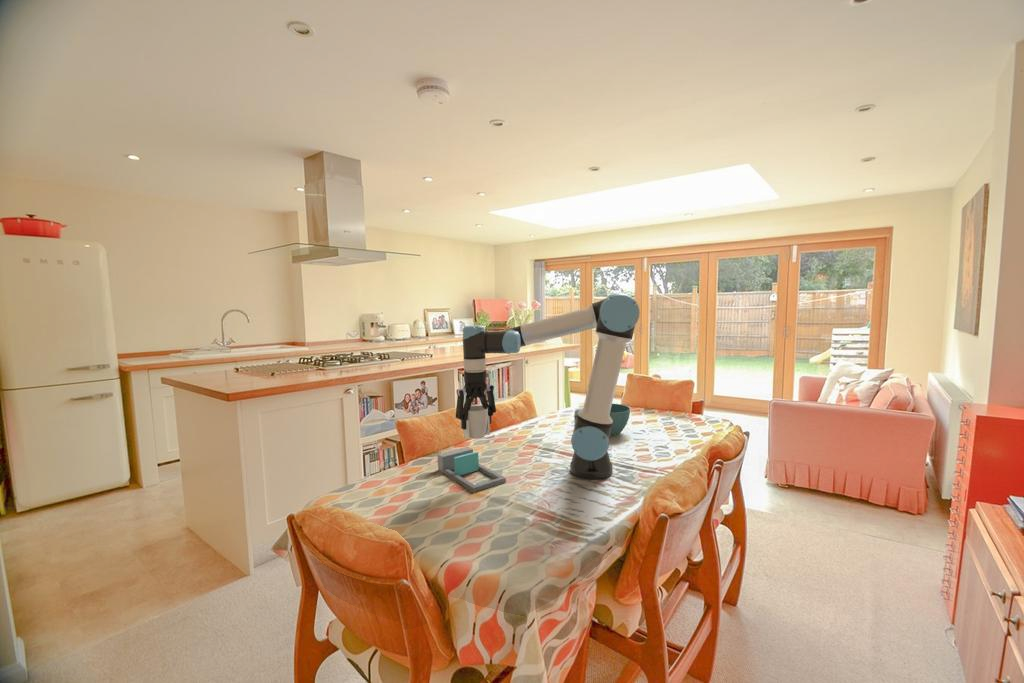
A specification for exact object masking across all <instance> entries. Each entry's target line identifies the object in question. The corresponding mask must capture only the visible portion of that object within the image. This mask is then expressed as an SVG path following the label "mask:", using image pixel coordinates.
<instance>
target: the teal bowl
mask: <svg viewBox="0 0 1024 683" xmlns="http://www.w3.org/2000/svg"><path fill="white" fill-rule="evenodd" d="M630 413H631V408H630V406H628V405H624V404H620V403H612V406H611V410H610V417H611V419H612V420H613V423H612V427H611V432H610V436H609V437H614V436H615V437H616V436H619V435H620V434H621V432H623V430H624V429H625V427H626V426H627V424H628V422H629V418H630Z"/></svg>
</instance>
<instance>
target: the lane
mask: <svg viewBox="0 0 1024 683" xmlns="http://www.w3.org/2000/svg"><path fill="white" fill-rule="evenodd" d="M473 452H474V449H473V448H471V447H469V446H465V447H461V448H458V449H457V448H456V449H451V450H449V451H445V452H441V453H437V470H438V471H440V472H441V473H442V474H444V475H446V476H447V477H449V478H450V479H452V480H453V481H455V482H456V483H458V484H460V485H461V486H463V487H464V488H466V489H467V490H469V491H471V492H472V493H476V491H477V492H480V491H482V489H483V490H485V489H488V488H492V487H495V486H499V485H501V484H505V483H506V482H507V478H506V477H505V476H503V475H502V474H499V473H497V472H496V471H493V469H490V468H488V467H486V466H484V465H482V464H481V463H479V470H478V471H480V472H481V473H483V474H484V475H487V476H489V477H490V478H492V480H488V481H484V482H481V483H479V484H474V483H472V482H471V481H469V480H467V479H466V478H463V477H462V475H460V476H459V475H457V474H456V473H455V467H454V457H457V456H461V455H465V454H469V453H473ZM479 490H480V491H479Z"/></svg>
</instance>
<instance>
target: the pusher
mask: <svg viewBox="0 0 1024 683" xmlns="http://www.w3.org/2000/svg"><path fill="white" fill-rule="evenodd" d="M479 462H480V461H479V452H478V451H473V453H469V454H465V455H461V456H457V457H454V467H455V470H454V473H456V474H457V475H459V476H463V475H466V474H470V473H473V472H477V471H479V464H480V463H479Z"/></svg>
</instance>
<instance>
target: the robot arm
mask: <svg viewBox="0 0 1024 683" xmlns="http://www.w3.org/2000/svg"><path fill="white" fill-rule="evenodd" d="M640 314H641V312H640V306H639V304H638V302H637V301H636V299H635V298H634V297H633V296H631V295H629V294H627V293H623V292H622V293H621V292H616V293H612V294H610V295H608V296H607V297H605V298H604V299H602V300H599V301H596V302H593V303H590V305H589V306H588V307H584V308H581V309H578V310H573V311H570V312H566V313H563V314H558V315H554V316H552V317H548V318H544V319H541V320H537V321H532V322H529V323H525V324H522V325H518V326H514V327H509V328H506V329H503V330H500V331H499V330H496V331H488V330H486V329H485V325H466V326H464V327H463V328H462V350H463V370H464V372H463V381H464V386H463V388H461V389H456V395H457V397H456V398H457V400H456V410H455V419H458V420H460V424H461V428H460V429H462V430H463V439H466V440H470V439H471V438H470V436H469V420H467V417H468V411H469V410H470V407H471V406H472V403H473V402H474V399H477V398H478V399H479V401H480V403H481V406H483V408H484V409H487V407H488V420H487V428H486V432H485V435H490V434H491V424H492V416H494V413H495V414H496V412H497V407H496V401H495V394H494V388H495V387H494V385H493V384H487V372H486V369H487V364H486V354H505V355H506V354H508V355H511V354H518V353H519V352H520V349H521V348H522V347H525V346H529V345H533V344H536V343H541V342H544V341H549V340H550V341H551V340H553V339H557V338H561V337H564V336H568V335H572V334H577V333H581V332H584V331H588V330H592V329H595V333H596V335H597V337H598V341H597V345H596V350H595V354H594V359H593V364H592V367H591V372H590V377H589V381H588V384H587V385H588V386H587V391H586V395H585V399H584V404H583V407H580V408H577V409H574V415H573V418H574V419H573V420H574V426H573V431H572V435H571V437H570V438H571V440H570V444H571V446H572V447H571V448H572V449H573V455H572V458H571V462H570V465H569V467H570V468H569V470H570V473H571V474H572V475H573V476H575V477H578V478H582V479H585V480H586V479H587V480H588V479H589V480H600V479H605V478H609V477H610V476H612V474H613V471H614V470H613V464H612V462H611V458H610V455H609V452H608V450H609V446H610V437H611V436H610V432H611V427H612V423H613V420H612V419H611V417H610V410H611V406H612V404H613V400H614V397H615V392H616V388H617V384H618V379H619V375H620V372H621V371H620V370H621V366H622V363H623V359H624V354H625V353H624V352H625V349H626V345H627V343H629V342H630V341H632V340H633V336H634V332H635V328H636V325H637V323H638V321H639V320H640V319H639V318H640ZM485 391H486V393H485ZM465 394H466V395H465Z"/></svg>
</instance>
